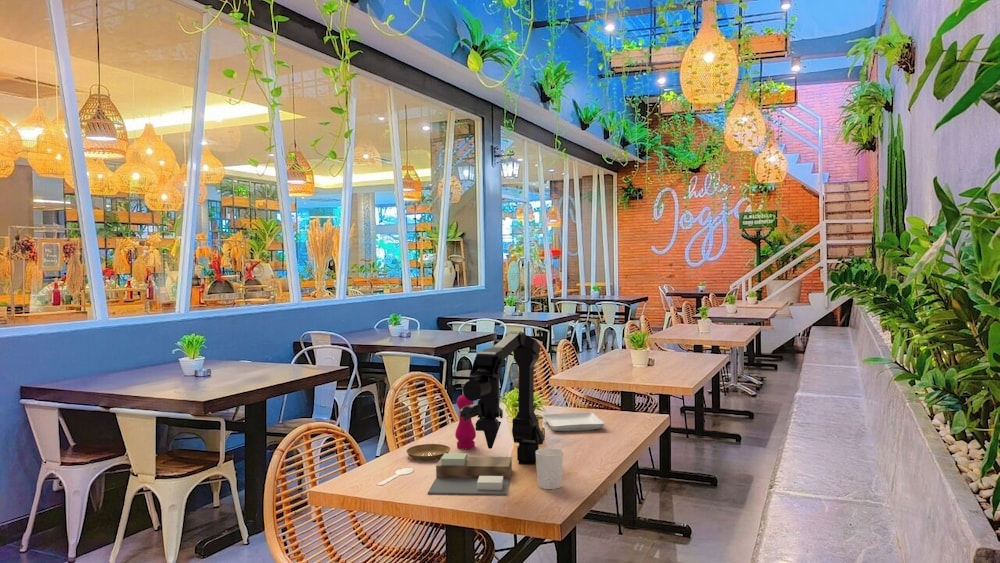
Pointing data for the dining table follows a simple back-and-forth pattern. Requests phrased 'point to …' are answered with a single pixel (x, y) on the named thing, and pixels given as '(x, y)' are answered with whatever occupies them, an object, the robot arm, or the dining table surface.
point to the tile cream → (490, 482)
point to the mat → (463, 487)
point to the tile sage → (454, 459)
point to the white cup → (549, 467)
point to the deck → (477, 468)
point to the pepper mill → (465, 427)
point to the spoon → (399, 472)
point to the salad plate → (573, 421)
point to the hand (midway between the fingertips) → (490, 448)
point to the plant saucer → (424, 449)
